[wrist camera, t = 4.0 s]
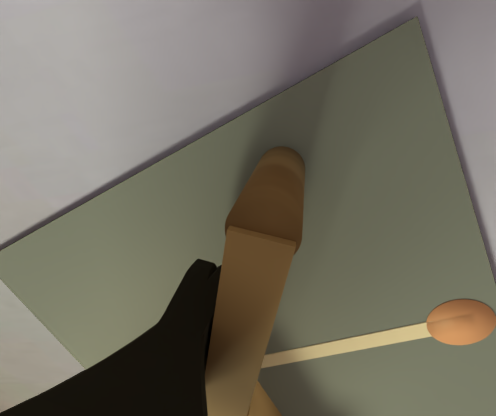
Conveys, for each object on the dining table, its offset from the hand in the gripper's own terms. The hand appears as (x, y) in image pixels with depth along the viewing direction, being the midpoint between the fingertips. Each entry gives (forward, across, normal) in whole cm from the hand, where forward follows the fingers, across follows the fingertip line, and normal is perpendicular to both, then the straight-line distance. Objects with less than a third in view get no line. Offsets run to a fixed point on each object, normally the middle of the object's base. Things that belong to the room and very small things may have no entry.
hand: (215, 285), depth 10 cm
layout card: (+2, -2, +6) cm, 6 cm away
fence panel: (+2, -1, 0) cm, 2 cm away
